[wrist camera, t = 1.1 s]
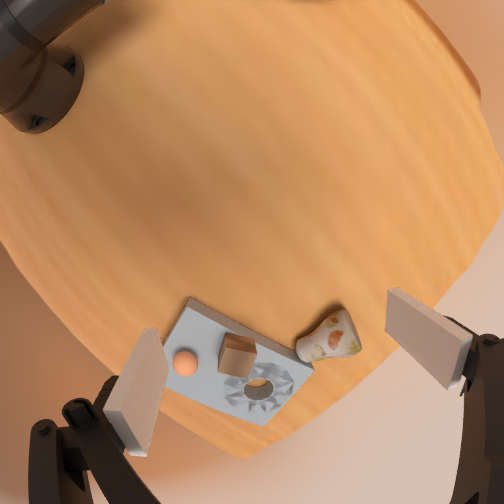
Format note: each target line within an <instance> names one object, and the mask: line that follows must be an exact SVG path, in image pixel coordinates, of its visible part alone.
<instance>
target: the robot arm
mask: <svg viewBox="0 0 504 504" xmlns="http://www.w3.org/2000/svg"><path fill="white" fill-rule="evenodd" d="M107 1H108V0H0V114H2V115H3V116H4V117H5V118H6V119H7V120H8V121H9V122H10V123H11V124H12V125H13V126H14V127H15V128H16V129H18V130H20V131H22V132H26V133H31V134H37V133H41V132H44V131H46V130H48V129H50V128H51V127H53V126H54V125H55V124H56V123H58V122H59V121H60V120H61V119H62V118H63V117H64V115H65V114H66V113H67V112H68V111H69V109H70V108H71V106H72V105H73V103H74V101H75V100H76V98H77V96H78V93H79V91H80V88H81V85H82V81H83V76H84V67H83V62H82V60H81V58H80V56H79V55H78V54H77V53H75V52H74V51H73V50H72V49H70V48H69V47H66V46H61V45H56V44H50V43H51V42H52V41H53V40H54V39H56V38H57V37H58V36H59V35H60V34H62V33H63V32H64V31H65V30H67V29H68V28H69V27H70V26H72V25H73V24H74V23H76V22H77V21H78V20H80V19H81V18H82V17H84V16H85V15H87V14H88V13H89V12H91V11H92V10H94V9H95V8H97V7H98V6H100V5H103V4H105V3H106V2H107ZM385 331H386V332H387V333H388V334H389V335H390V336H391V337H392V338H393V339H394V340H395V341H396V342H397V343H398V344H400V345H401V346H402V347H403V348H404V349H405V350H406V351H407V352H408V353H409V354H410V355H411V356H412V357H413V358H414V359H416V361H417V362H419V363H420V364H421V365H422V366H423V367H424V368H425V369H426V370H427V371H428V372H429V373H430V374H431V375H432V376H433V377H434V378H435V379H436V380H437V381H438V382H439V383H440V384H441V385H442V386H443V387H444V388H446V390H450V389H452V388H454V387H455V386H457V385H458V384H459V382H460V379H461V376H462V375H463V376H465V377H466V380H465V383H464V386H463V389H462V391H461V394H460V396H462V395H463V393H464V417H463V432H462V442H461V451H460V458H459V465H458V470H457V476H456V481H455V486H454V491H453V495H452V498H451V501H450V503H449V504H504V338H503V339H499V338H498V337H497V336H495V335H493V334H483V335H480V336H479V335H477V334H475V333H474V332H473V331H471V330H470V329H468V328H467V327H465V326H463V325H462V324H460V323H458V322H457V321H456V320H454V319H453V318H450V317H447V316H444V315H441V314H440V313H438V312H436V311H435V310H433V309H432V308H430V307H429V306H427V305H425V304H424V303H422V302H421V301H419V300H417V299H416V298H414V297H413V296H411V295H409V294H408V293H406V292H404V291H403V290H401V289H400V288H394V289H389V290H387V309H386V323H385ZM169 369H170V368H169V365H168V362H167V359H166V356H165V353H164V350H163V346H162V343H161V340H160V336H159V333H158V329H157V328H147V329H144V330H143V332H142V334H141V335H140V337H139V339H138V341H137V343H136V345H135V347H134V349H133V350H132V352H131V354H130V356H129V358H128V360H127V362H126V364H125V366H124V368H123V370H122V372H121V374H120V376H112V377H111V378H109V379H108V380H107V381H106V382H105V383H104V385H103V387H102V390H101V391H100V392H99V396H97V398H96V400H95V402H94V404H93V406H92V404H91V402H90V401H89V400H88V399H84V398H77V399H73V400H71V401H69V402H67V403H66V404H65V405H64V407H63V409H62V415H63V417H64V418H65V420H66V421H67V423H68V424H69V427H59V428H58V427H57V425H56V424H55V422H54V421H52V420H49V419H43V420H40V421H38V422H37V423H36V424H34V426H33V427H32V429H31V436H30V448H29V467H28V469H29V470H28V490H29V504H94V503H93V499H92V495H91V491H90V485H89V481H88V475H87V470H91V472H92V474H93V476H94V478H95V480H96V482H97V483H98V485H99V487H100V489H101V491H102V492H103V494H104V496H105V497H106V499H107V501H108V502H109V504H161V503H160V502H159V500H157V498H156V497H155V496H154V495H153V494H152V492H151V491H150V490H149V489H148V487H147V486H146V485H145V484H144V482H143V481H142V480H141V478H140V477H139V476H138V474H137V473H136V472H135V470H134V469H133V468H132V466H131V465H130V464H129V462H128V461H127V459H126V458H125V456H124V455H123V453H124V449H125V448H126V449H127V451H128V452H129V454H130V455H134V456H148V452H149V447H150V443H151V439H152V435H153V431H154V426H155V422H156V418H157V414H158V410H159V406H160V403H161V399H162V395H163V391H164V387H165V384H166V380H167V376H168V373H169Z"/></svg>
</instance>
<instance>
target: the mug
mask: <svg viewBox="0 0 504 504" xmlns="http://www.w3.org/2000/svg"><path fill="white" fill-rule="evenodd" d="M361 350H362V346H361V342H360V339H359V336H358V333H357V330H356V328H355V325H354V323H353V321H352V319H351V316H350V314H349V312H348V311H347V309H341V310H338V311H336V312H334V313H332V314H331V315H330V316H328V317H327V318H326V319H325V320H324V321H323V322H322V323H321V324H320V326H319V327H318V328H317V329H316V330H315V331H313V332H312V333H311V334H309V335H307V336H305V337H303V338H300V339H299V340H298V341H297V343H296V352H297V355H298V357H299V358H300V360H302V361H304V362H307V363H309V362H312V361H321V360H323V359H325V358H342V357H349V356H353V355H355V354H357V353H358V352H360V351H361Z"/></svg>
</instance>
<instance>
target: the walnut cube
mask: <svg viewBox="0 0 504 504" xmlns="http://www.w3.org/2000/svg"><path fill="white" fill-rule="evenodd" d="M256 356H257V350H256V345H255V340H254V338H249V337H245V336H241V335H236V334H232V333H228V332H225V335H224V338H223V341H222V344H221V348H220V351H219V354H218V368H217V372H218V373H223V374H227V375H232V376H237V377H242V378H247V379H248V377H249V374H250V372H251V369H252V367H253V364H254V362H255V359H256Z"/></svg>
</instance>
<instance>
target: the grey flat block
mask: <svg viewBox="0 0 504 504" xmlns="http://www.w3.org/2000/svg"><path fill="white" fill-rule="evenodd" d="M225 332H228V333H232V334H236V335H241V336H245V337H249V338H254V340H255V345H256V350H257V356H256V359H255V362H254V364H253V367H252V369H251V372H250V374H249V377H248V379H247V378H242V377H237V376H232V375H227V374H223V373H218V372H217V368H218V354H219V351H220V348H221V344H222V341H223V338H224V335H225ZM162 346H163V350H164V353H165V356H166V359H167V362H168V365H169V368H170V369H169V373H168V376H167V380H166V384H165V387H166V388H169V389H171V390H173V391H175V392H177V393H179V394H181V395H183V396H185V397H188V398H190V399H192V400H194V401H197V402H199V403H201V404H204V405H206V406H208V407H211V408H213V409H216V410H218V411H221V412H223V413H226V414H229V415H231V416H234V417H237V418H239V419H242V420H245V421H248V422H251V423H254V424H257V425H260V426H264V425H265V424H266V423H267V422H268V421H269V420H270V419H271V418H272V417H273V416H274V415H275V414H276V413H277V412H278V411H279V410H280V409H281V408H282V407H283V405H284V404H285V403H286V402H287V401H288V400H289V399H290V398H291V397H292V396H293V395H294V393H295V392H296V391H297V390H298V389H299V388H300V387H301V386H302V384H303V383H304V382H305V381H306V380H307V379H308V377H309V376H310V375H311V374H312V373H313V371H314V368H313V366H312V364H311V362H309V363H307V362H304V361H302V360H300V358H299V357H298V355H297V352H295V351H293V350H291V349H289V348H286V347H284V346H282V345H280V344H278V343H276V342H274V341H272V340H270V339H268V338H266V337H264V336H262V335H260V334H258V333H256V332H254V331H252V330H250V329H249V328H247V327H245V326H243V325H241V324H239V323H237V322H235V321H233V320H231V319H230V318H228V317H226V316H224V315H222V314H220V313H218V312H217V311H215V310H213V309H211V308H209V307H208V306H206V305H204V304H202V303H200V302H199V301H197V300H195V299H193V298H192V297H190V298H189V300H188V302H187V303H186V305H185V307H184V308H183V310H182V312H181V313H180V315H179V317H178V319H177V320H176V322H175V324H174V325H173V327H172V329H171V331H170V332H169V334H168V336H167V338H166V339H165V341H164V343H163V345H162ZM182 351H187V352H190V353H192V354H193V355H194V356H195V357H196V358H197V361H198V368H197V370H196V372H195V373H194V374H193V375H191V376H181V375H179V374H177V373H176V372H175V370H174V369H173V365H172V361H173V358H174V356H175V355H176V354H177V353H179V352H182ZM254 379H266V380H268V382H267V383H266V384H265V385H262V386H260V387H251V386H248V385H246V384H247V383H248V382H249V381H252V380H254Z"/></svg>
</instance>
